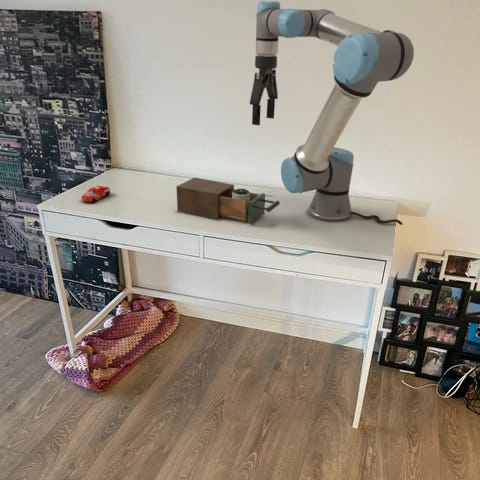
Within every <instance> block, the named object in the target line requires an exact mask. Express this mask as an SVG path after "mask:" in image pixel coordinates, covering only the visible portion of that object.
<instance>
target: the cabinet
mask: <svg viewBox="0 0 480 480" xmlns="http://www.w3.org/2000/svg"><path fill="white" fill-rule="evenodd" d="M230 189H235V184H232V183H227V182H221V181H216V180H210V179H206V178H199V177H192V178H190V179H189V180H187V181H184V182H182V183H181V184H178V185H176V205H177V212H178V213H183V214H188V215H193V216H197V217H202V218H205V219H211V220H216V221H219V220H220V219H222V218H223V217H224V216H221V215H219V196H220V195H222V194H223V193H225V192H227V191H228V190H230Z"/></svg>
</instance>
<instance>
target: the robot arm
mask: <svg viewBox="0 0 480 480" xmlns="http://www.w3.org/2000/svg"><path fill="white" fill-rule="evenodd" d="M256 8H257V9H256V15H255V16H256V18H255V19H256V20H255V21H256V23H255V43H254V47H255V54H256V55H255V57H254V67H255V69H258V72H254V78H253V79H254V80H253V84H252V89H251V94H250V97H249V98H250V99H249V105H251V106H252V110H251V111H252V113H251V125H252V126H260V125H261V109H262V108H261V107H262V105H261V101H262V98H263V94H264V91H265V89H266V93H267V97H268V98H267V100H266V119H275V107H276V100H279V99H278V98H279V97H278V95H279V93H278V84H277V68H278V56H277V55H278V53H279V37H282V38H286V39H294V38H316V39H319V40H321V41H324V42H326V43H329V44H331V45H333V46H335V47H336V49H335V52H334V53H333V54H334V55H333V60H332V61H333V62H334V63H333V64H332V71H333V81H334V83H335V84H334V86H333V88H332V90H331V92H330V94H329V96H328V97H327V99H326V101H325V104H324V105H323V107H322V109H321V111H320V113H319V115H318V117H317V119H316V121H315V122H314V125H313V127H312V129H311V131H310V133H309V135H308V137H307V138H306V141H305V142H304V143H303V144H301V145H299V146H298V147H297V148H296V150H295V152H294V154H293V156H291V157H289V156H288V157H286V158H284V159H283V161H282V162H281V165H280V178H281V181H282V184H283V186H284V188H285V189H286V190H287V191H288V192H289V193H291V194H303V193H306V192H307V193H308V192H311V191H315V192H314V195H313V197H312V199H311V202H310V204H309V207H308V213H309V215H310V216H312V217H313V218H316V219H318V220H322V221H328V222H329V221H330V222H340V221H344V220H347V219H349V218H350V217H351V216H352V215H353V216H356V217H360V218H361V219H362V218H363V219H366V220H369V219H376V221H377V222H378V223H380V224H390V223H397V224H398V225H401V226H403V225H404V223H403V222H402V221H401V220H400V219H394V218H392V219H387V220H382V219H380V216H378V215H375V214H372V215H364V214H361V213H358V212H355V211H352V207H351V201H350V188H351V187H350V186H351V181H352V174H353V167H354V159H355V158H354V153H353V152H352V151H350V150H349V149H348V150H347V149H344V148H340V147H336V145H337V143H338V141H339V140H340V137H341V135H342V134H343V132H344V130H345V129H346V127H347V126H348V124H349V122H350V120H351V118H352V117H353V114H354V113H355V111H356V109H357V108H358V106H359V104H360V102H361V101H362V100H363V99H366V98H368V97H370V96H371V94H372V93H373V91H374V90H375V88H376V86H377V84H378V83H380V82H390V81H395V80H397V79H399V78H401V77H402V76H403V75H405V74H406V73H407V71H408V70H409V69H410V68H411V66H412V64H413V61H414V56H415V53H414V52H415V50H414V45H413V42H412V40H411V39H410V38H409V37H408V36H407V35H406V34H404V33H403V32H396V31H394V30H390V29H385V30H383V31H381V30H378V29H375V28H372V27H369V26H368V25H367V26H366V25H364V24H361V23H358V22H355V21H353V20H349V19H347V18H344V17H341V16H338V15H336V13H335V12H334V11H333V10H330V9H326V8H325V9H324V8H321V9H303V8H302V9H300V8H298V9H297V8H281V2H279V1H278V0H277V1H276V0H273V1H272V0H259V1H258V3H257V7H256ZM399 271H400V270H398V271H397V273H396V274H395V277H394V278H393V283H392V289H393V290H394V289H396V284H397V280H398V275H399Z"/></svg>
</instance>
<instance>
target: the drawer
mask: <svg viewBox="0 0 480 480" xmlns="http://www.w3.org/2000/svg"><path fill="white" fill-rule="evenodd" d="M234 190H236V189H235V188H234V189H230V190H228V191H227V192H225V193H223V194H222V195H220V196H219V215H221V216H223V217H227V218H231V219H234V220H240V221H243V222H246V221H247V224H250V225H252V224H253V223H254V222H256V221H257V220H258V219H260V218H261V217H262V216H263V215H265V211H266V212H267V213H270V212H272V211H273V210H274V209H275V208H277V207H278V206H279V205H280V204H281V202H280V200H276V201H273V200H269V199H266V193H264V192H262V193H260V194H258V193H257V192H250V191H249V192H250V202H249V207H248V214H246V212H247V201H244V200H239V199H233V198H232V192H233V191H234ZM266 203H269V204H270V205H269V206H267V207H265V206H266Z"/></svg>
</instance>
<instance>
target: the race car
mask: <svg viewBox="0 0 480 480" xmlns="http://www.w3.org/2000/svg"><path fill="white" fill-rule="evenodd" d="M110 194H111V189H110V187H109V186H106V185H105V186H104V185H95V186H92V187H90V188H89V189H88V190H86V192H85V193H84V194H82V195H81V197H80V198H81V201H82V202H84V203H94V204H95V203H96V201H99V200H100V199H103V198H107V197H109V195H110Z"/></svg>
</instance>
